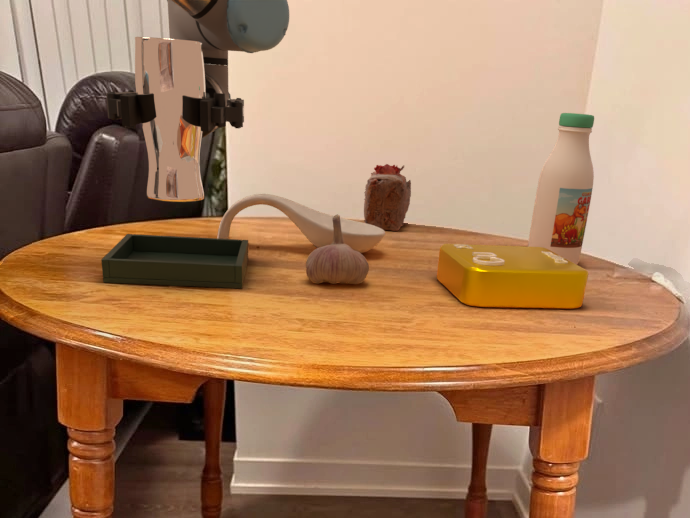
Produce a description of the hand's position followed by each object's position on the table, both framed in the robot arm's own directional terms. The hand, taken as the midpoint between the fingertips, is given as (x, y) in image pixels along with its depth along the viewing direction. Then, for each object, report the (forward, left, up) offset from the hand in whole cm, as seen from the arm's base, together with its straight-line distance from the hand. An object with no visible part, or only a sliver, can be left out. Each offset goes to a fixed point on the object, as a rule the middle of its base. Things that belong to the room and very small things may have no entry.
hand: (164, 113), depth 76 cm
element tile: (+39, +9, -18) cm, 44 cm away
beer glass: (0, +5, -9) cm, 10 cm away
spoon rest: (+14, +29, -18) cm, 37 cm away
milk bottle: (+51, +29, -18) cm, 62 cm away
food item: (+29, +55, -18) cm, 65 cm away
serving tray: (-1, +13, -18) cm, 22 cm away
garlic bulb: (+18, +10, -18) cm, 28 cm away
